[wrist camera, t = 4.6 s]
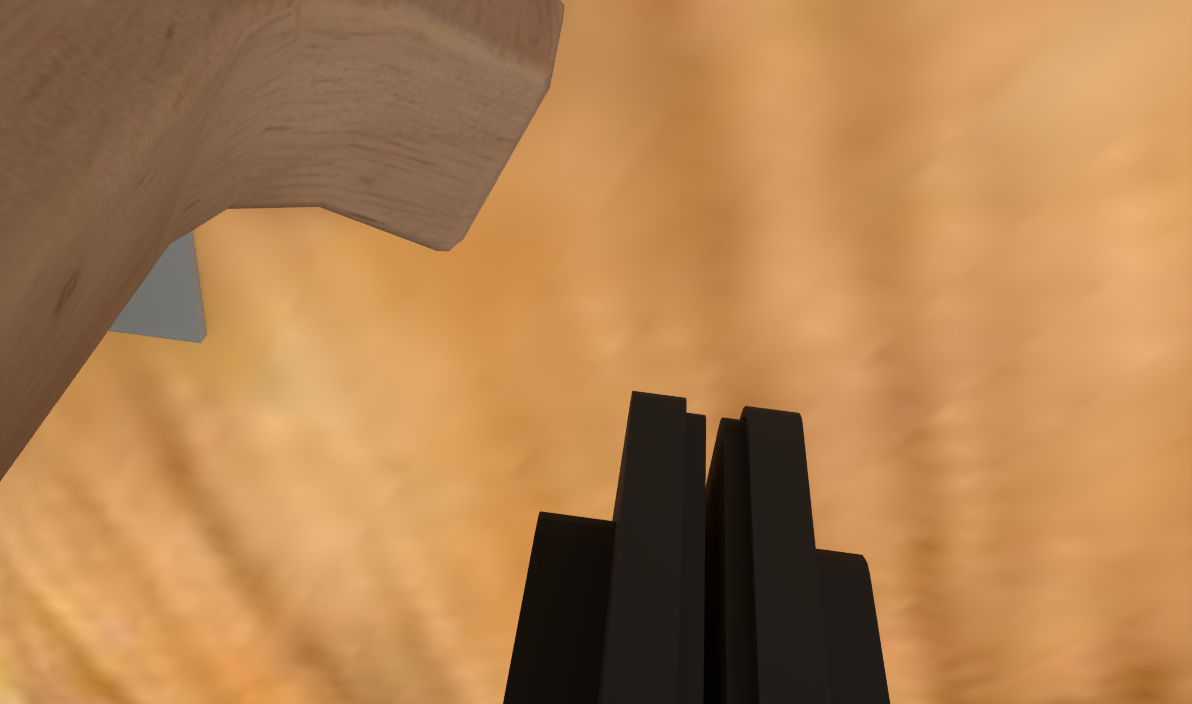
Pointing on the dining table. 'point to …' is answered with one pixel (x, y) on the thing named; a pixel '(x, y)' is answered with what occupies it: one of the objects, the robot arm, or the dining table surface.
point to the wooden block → (232, 142)
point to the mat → (168, 298)
